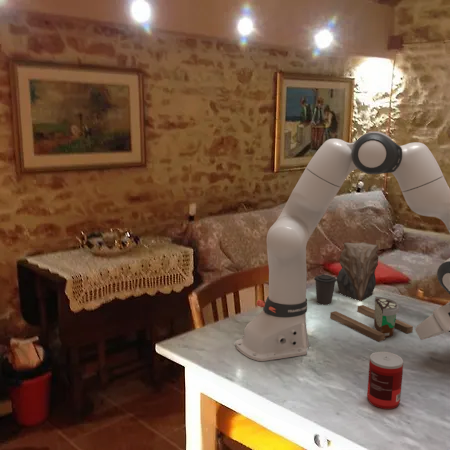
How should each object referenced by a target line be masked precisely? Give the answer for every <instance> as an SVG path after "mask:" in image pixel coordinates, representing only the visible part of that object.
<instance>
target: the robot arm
mask: <svg viewBox="0 0 450 450" xmlns="http://www.w3.org/2000/svg"><path fill="white" fill-rule="evenodd" d="M355 170H358V171H361V173H365V174H366V175H381V174H390V173H391V174H392V175H393V176H394V178H395V179H396V181H397V183H398V186H399V188H400V190H401V193H402V196H403V198H404V200H405V202H406V204H407V206H408V207H409V209H410V210H411V211H412V212H414V213H415V214H417V215H420V216H424V217H432V218H433V217H434V218H437V219H439V220H441V221H442V222H443V224H444V225H445V227H446V229H447V230H448V232H449V233H450V187H449V185H448V183H447V181H446V178H445V176H444V174H443V172H442V170H441V167H440V164H439V163H438V162H437V159H436V158H435V156H434V154H433V152H431V150H430V149H429V147H428V146H427V145H426V144H424V143H423V142H418V141H417V142H409V143H406V144H403V145H399V144H397V143H396V142H395V141H393V139H392V137H390V136H389V134H386V133H385V132H383V131H382V132H381V131H376V130H375V131H374V130H373V131H368V132H366V133H363V134H362V135H361V136H360V137H358V138H357V139H356V140H354V141H352V142H347V141H346V140H343V139H340V138H329V139H326V140H325V141H324V142H323V143H322V145H320V147H319V148H318V150H317V151H316V152H315V153H314V155H313V156H312V158H311V159H310V161H309V162H308V164H307V165H306V167H305V169H304V171H303V172H302V174H301V175H300V176H299V178H298V181H297V183H296V184H295V187H294V188H293V189H292V191H291V193H290V195H289V196H288V200H287V201H286V203H285V205H284V207H283V208H282V211H281V213H280V214H279V216H278V217H277V218H276V221H274V223H273V224H272V225H270V228H269V229H268V230H267V234H266V250H267V251H266V253H267V264H268V296H267V297H266V300H265V301H264V300H263V299H260V298H259V299H257V301H256V305H257V306H258V307H260V308H262V311H261V312H259V313H258V314H257V315H256V316H255V317H254V318H253V319H252V320H251V321H250V322H248V324H246V326H245V327H244V330H243V331H244V332H243V336H242V338H240V339H237V340H236V341H235V348H236V350H238V351H239V352H240V353H241V354H243V355H244V356H246V357H247V358H249V359H251V360H254V361H258V362H267V361H273V360H279V359H286V358H292V357H298V356H306V355H307V354H308V348H309V347H310V343H311V342H310V339H309V336H308V332H307V331H308V330H307V329H308V328H307V318H306V317H307V316H306V315H307V314H306V313H307V311H308V299H307V285H308V284H307V279H308V273H307V272H308V271H307V244H308V242H309V240H310V238H311V236H312V235H313V233H314V231H315V229H316V228H317V226H318V225H319V223H320V222H321V220H322V219H323V217H324V216H325V213H326V212H327V211H328V209H329V207H330V206H331V204H332V203H333V200H334V199H335V197H336V196H337V194H338V193H339V191H340V189H341V188H342V187H343V184H344V183H345V181H346V179H347V178H348V177H349V175H350V174H351V173H352V172H353V171H355ZM436 275H437V280H438V283H439V285H440V286H441V287H442V288H443V289H444V290H445V291H446V293H448V294H449V295H450V257H449V258H447V259H446V260H445V261H444V262H442V263H441V264H440V265H439V266H438V269H437V273H436ZM415 332H416V334H417V336H418V338H419V339H420V340H421V341H424V340H426V339H431V338H433V337H436V336H441V335H443V334H446V333H450V301H449V302H447V303H446V304H444V305H442V306H440V307H439V306H438V308H436V309H434V310H433V311H432V314H430V316H427V318H425V319H424V320H423V321H421V322H420V323H419V324H418V325H417V326H416V327H415Z"/></svg>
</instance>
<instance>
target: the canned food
mask: <svg viewBox="0 0 450 450" xmlns="http://www.w3.org/2000/svg"><path fill="white" fill-rule="evenodd" d="M368 363H369V365H368V379H367V380H368V381H367V393H366V396H367V400H368V402H369V403H370V404H371V405H372V406H374V407H377V408H378V409H384V410H391V409H396V408H397V407H398V406H399V404H400V402H401V395H402V384H403V373H404V372H403V371H404V359H403V358H402V357H401V356H400V355H398V354H396V353H393V352H389V351H376V352H373V353H371V354H370V356H369V362H368Z"/></svg>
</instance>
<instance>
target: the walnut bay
mask: <svg viewBox="0 0 450 450" xmlns="http://www.w3.org/2000/svg"><path fill="white" fill-rule="evenodd" d="M357 312H358V313H360V314H361V315H364V316H366V317H369V318H370V319H374V315H375V309H373V308H371V307H369V306H367V305H363V304H361V305H358V306H357ZM329 313H330V314H329V318H330V319H331V320H334V321H335V322H338V323H340V324H342V325H343V326H345V327H347V328H350V329H352V330H354V331H356V332H358V333H360V334H362V335H363V336H366V337H369V338H370V339H373V340H374V341H376V342H379V343H380V342H383V341H385V339H386V338H385V334H384V333H382V332H380V331H377V330H376V329H375V328H373V327H370V326H368V325H366V324H365V323H362V322H360V321H358V320H356V319H354V318H351V317H349V316H347V315H345V314H343V313H341V312H339V311H337V310H336V311H331V312H329ZM413 328H414V326H413V325H411V324H408V323H406V322H404V321H401V320H399V319H397V318H396V320H395V326H394V330H398V331H400V332H402V333H405V334H411V333H413V331H414V330H413Z"/></svg>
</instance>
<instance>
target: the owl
mask: <svg viewBox="0 0 450 450" xmlns="http://www.w3.org/2000/svg"><path fill="white" fill-rule="evenodd" d="M378 251H379V245H378V244H377V243H376V244H372V243H369V242H365V241H364V242H363V241H362V242H358V243H357V242H355V243H352V242H344V243H343V250H342V252H340V257H339V265H340V267H341V268H340V270H339V271H338V275H337V277H336V280H337V281H336V283H337V288H338V289H337V290H338V294H339V293H341V294H343V295H342V296H345V295H346V296H345V297H347V296H348V297H347V298H350V297H351V298H350V299H352V298H353V299H352V300H355V299H356V301H358V300H359V301H358V302H363V301H364V300H366V299H367V298H369V297H371V296H373V292H374V290H375V288H376V283H377V280H376V275H375V274H376V273H375V272H376V269H377V268H378V265H379V255H378ZM341 294H340V295H341ZM362 300H363V301H362Z"/></svg>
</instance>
